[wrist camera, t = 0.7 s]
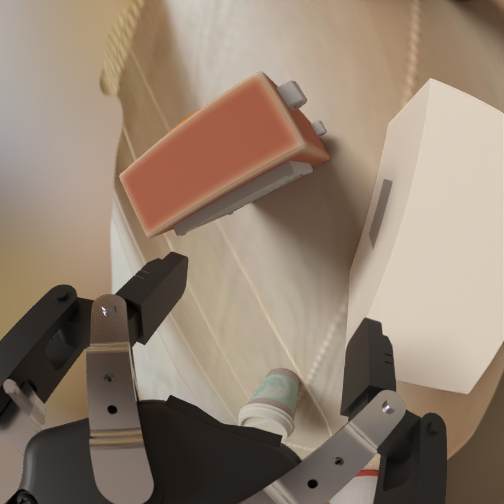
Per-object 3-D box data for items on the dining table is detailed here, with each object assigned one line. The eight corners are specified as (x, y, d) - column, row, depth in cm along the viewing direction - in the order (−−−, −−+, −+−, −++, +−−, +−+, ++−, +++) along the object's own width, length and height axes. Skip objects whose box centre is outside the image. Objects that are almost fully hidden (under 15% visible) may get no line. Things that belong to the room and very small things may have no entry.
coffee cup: (307, 363, 43) (290, 417, 32) (307, 399, 45) (291, 450, 35) (257, 359, 46) (230, 407, 35) (261, 394, 48) (238, 441, 37)
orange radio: (220, 166, 38) (316, 113, 32) (243, 210, 39) (343, 161, 33) (104, 177, 19) (273, 49, 13) (142, 258, 20) (336, 152, 14)
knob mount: (388, 124, 30) (430, 78, 12) (469, 155, 27) (563, 155, 9) (349, 271, 37) (343, 366, 19) (426, 294, 34) (468, 394, 16)
